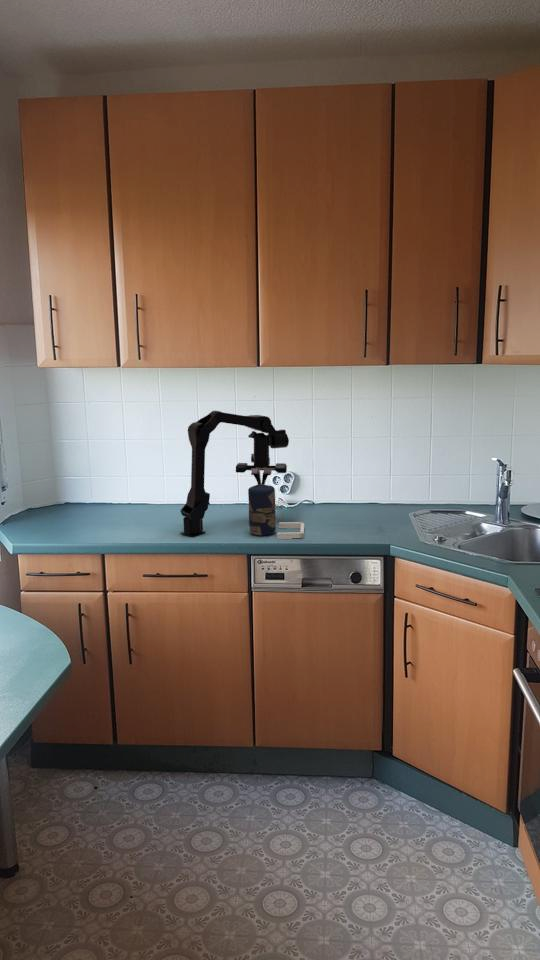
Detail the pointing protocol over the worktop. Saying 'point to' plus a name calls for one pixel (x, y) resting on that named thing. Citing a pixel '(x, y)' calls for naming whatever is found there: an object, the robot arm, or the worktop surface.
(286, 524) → the block
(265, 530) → the canister
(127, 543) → the worktop surface
